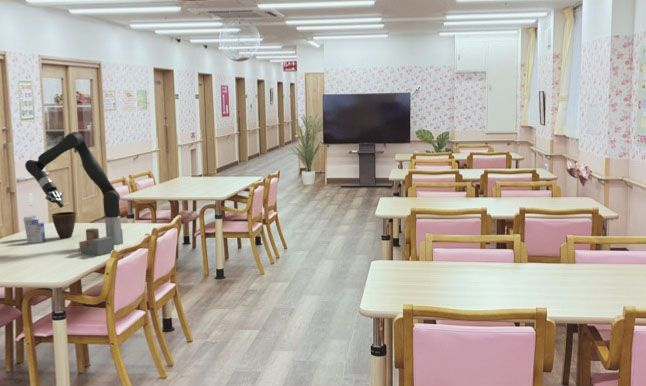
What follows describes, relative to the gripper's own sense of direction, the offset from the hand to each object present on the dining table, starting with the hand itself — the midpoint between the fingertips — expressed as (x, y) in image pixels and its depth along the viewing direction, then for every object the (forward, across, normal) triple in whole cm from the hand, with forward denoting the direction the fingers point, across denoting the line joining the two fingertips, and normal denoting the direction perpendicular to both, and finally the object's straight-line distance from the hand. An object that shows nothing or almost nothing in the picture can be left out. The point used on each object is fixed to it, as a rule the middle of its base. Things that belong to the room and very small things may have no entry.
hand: (62, 206), depth 441 cm
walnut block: (+35, -1, -1) cm, 35 cm away
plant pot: (-2, +24, +39) cm, 46 cm away
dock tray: (+36, -1, 0) cm, 36 cm away
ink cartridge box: (-5, +5, +42) cm, 43 cm away
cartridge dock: (+39, -1, -3) cm, 39 cm away
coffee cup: (-14, +11, +51) cm, 54 cm away
